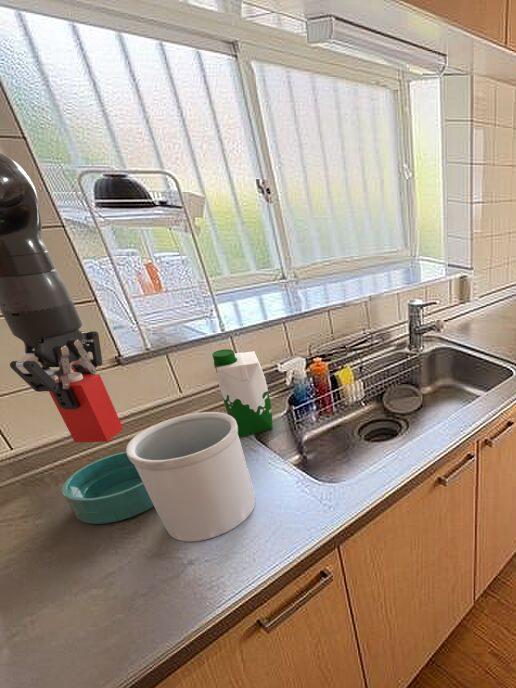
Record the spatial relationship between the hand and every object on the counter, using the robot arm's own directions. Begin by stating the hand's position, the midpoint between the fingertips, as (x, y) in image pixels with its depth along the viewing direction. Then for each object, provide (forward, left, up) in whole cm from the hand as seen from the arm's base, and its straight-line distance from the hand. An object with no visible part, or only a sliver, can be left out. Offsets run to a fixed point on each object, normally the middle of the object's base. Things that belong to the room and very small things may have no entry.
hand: (83, 400), depth 70 cm
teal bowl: (0, -1, -21) cm, 21 cm away
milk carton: (+13, +23, -21) cm, 34 cm away
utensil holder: (+17, -6, -21) cm, 28 cm away
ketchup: (0, 0, -7) cm, 7 cm away
